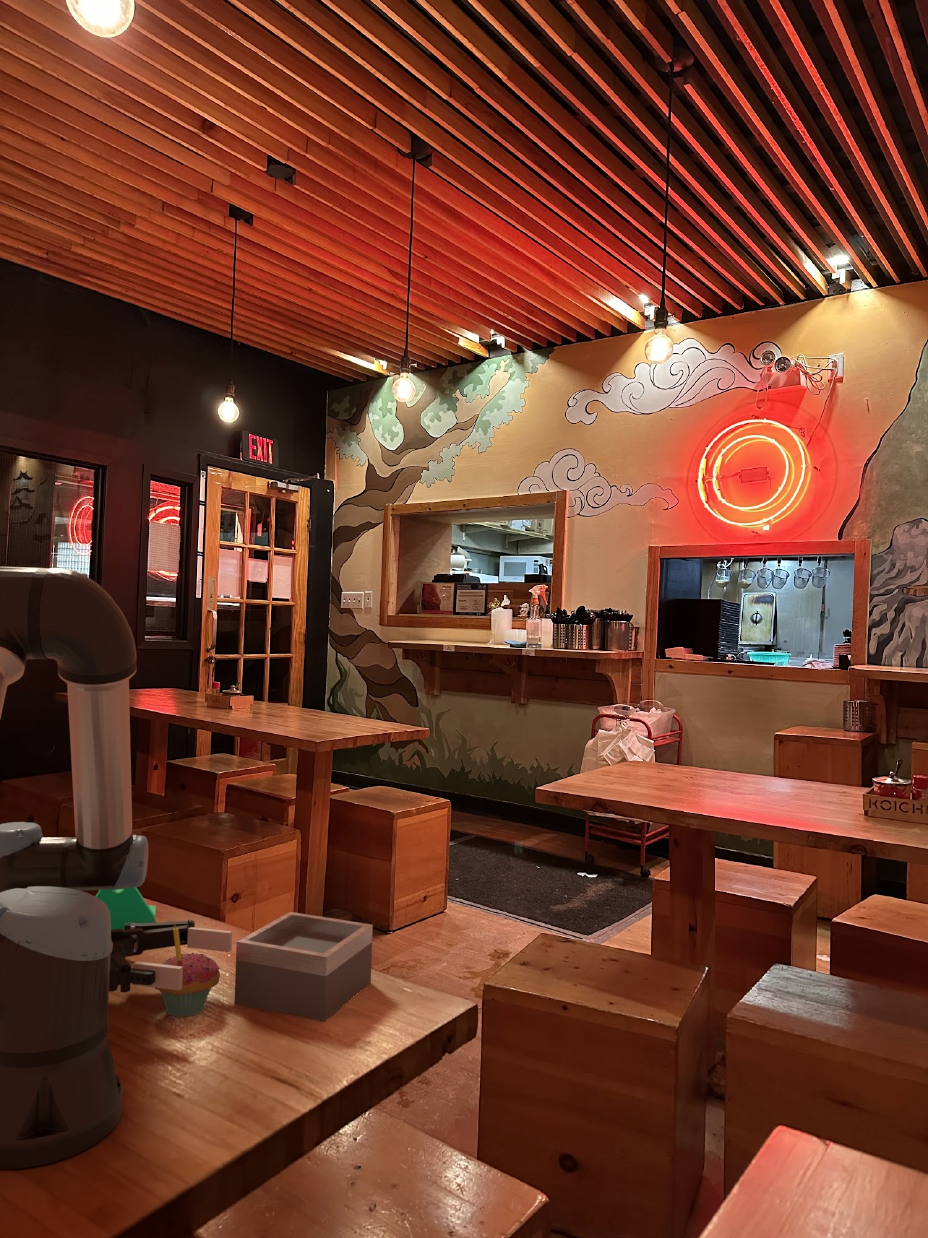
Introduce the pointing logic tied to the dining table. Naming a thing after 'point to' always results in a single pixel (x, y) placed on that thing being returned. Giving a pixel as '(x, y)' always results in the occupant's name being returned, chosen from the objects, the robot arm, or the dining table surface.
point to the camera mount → (126, 907)
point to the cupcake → (190, 982)
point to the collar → (264, 953)
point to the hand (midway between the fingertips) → (207, 959)
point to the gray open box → (302, 981)
